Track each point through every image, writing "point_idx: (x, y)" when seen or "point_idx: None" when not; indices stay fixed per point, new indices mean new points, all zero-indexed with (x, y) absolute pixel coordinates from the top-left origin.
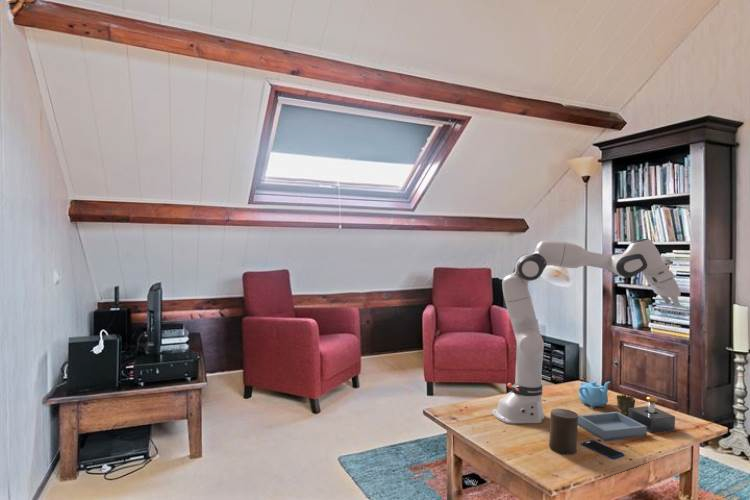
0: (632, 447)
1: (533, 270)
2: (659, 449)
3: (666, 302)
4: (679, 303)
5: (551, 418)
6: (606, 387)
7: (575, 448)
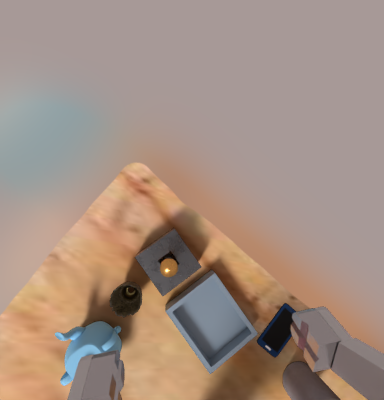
0: (257, 291)
1: None
2: (249, 259)
3: (119, 387)
4: (335, 319)
5: None
6: (72, 334)
7: (308, 366)
